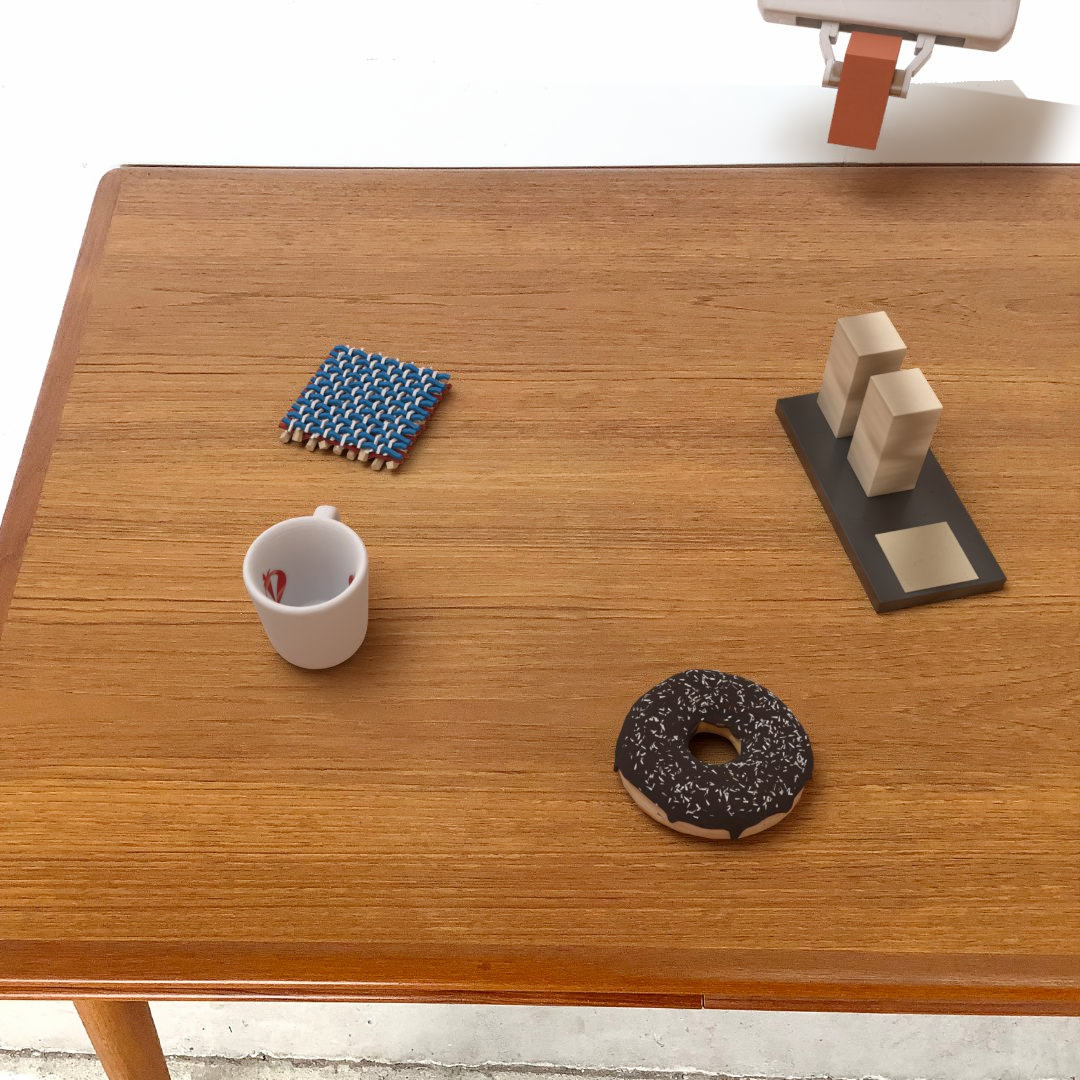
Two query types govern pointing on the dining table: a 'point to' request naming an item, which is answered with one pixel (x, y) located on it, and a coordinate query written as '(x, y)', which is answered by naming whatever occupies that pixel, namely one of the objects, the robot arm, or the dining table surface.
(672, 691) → the donut
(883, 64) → the terracotta rectangular block
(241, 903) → the dining table surface
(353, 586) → the cup
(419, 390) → the woven mat
